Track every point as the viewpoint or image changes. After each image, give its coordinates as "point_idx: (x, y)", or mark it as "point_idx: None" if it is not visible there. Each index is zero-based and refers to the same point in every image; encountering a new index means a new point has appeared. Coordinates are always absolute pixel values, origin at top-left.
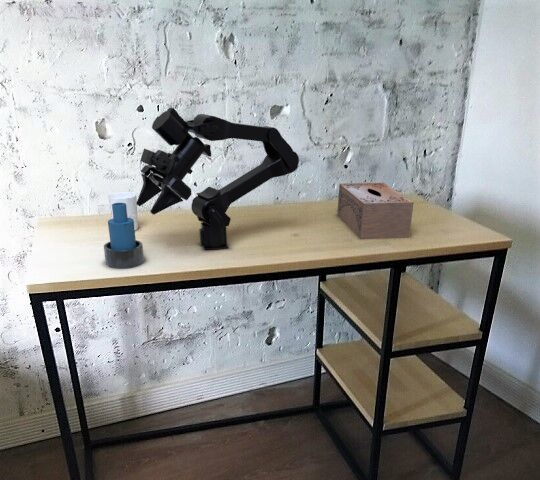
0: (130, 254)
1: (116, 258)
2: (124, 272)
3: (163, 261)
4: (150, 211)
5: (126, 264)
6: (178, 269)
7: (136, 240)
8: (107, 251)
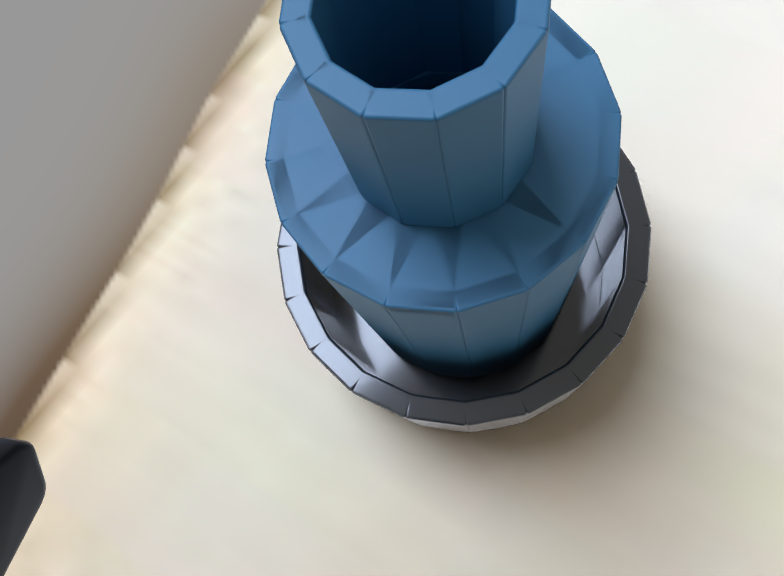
0: None
1: None
2: None
3: (279, 535)
4: (11, 440)
5: None
6: (53, 520)
7: (500, 408)
8: None
